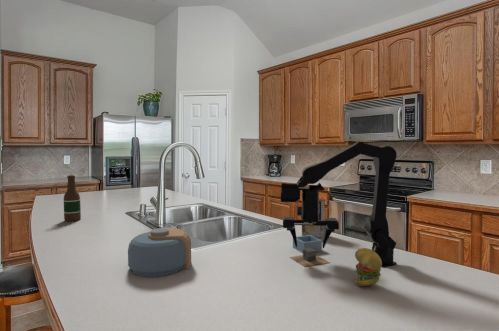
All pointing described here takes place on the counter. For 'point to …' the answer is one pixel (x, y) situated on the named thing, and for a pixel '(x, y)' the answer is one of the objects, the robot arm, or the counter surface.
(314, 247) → the light blue open box
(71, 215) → the beer bottle
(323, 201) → the coffee box
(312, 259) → the lid
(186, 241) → the blue squat cylinder
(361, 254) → the hamburger
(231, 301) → the counter surface
